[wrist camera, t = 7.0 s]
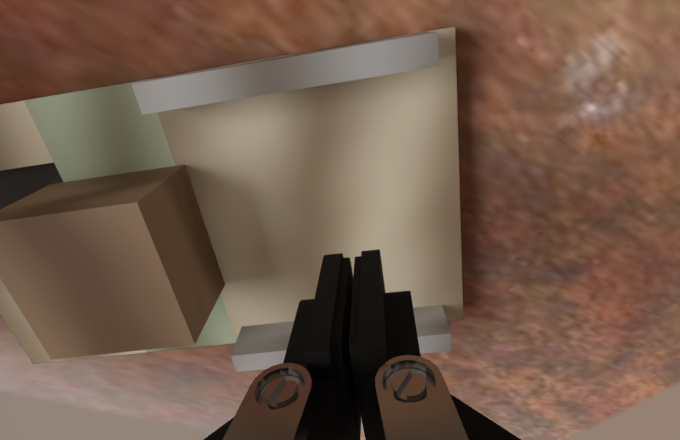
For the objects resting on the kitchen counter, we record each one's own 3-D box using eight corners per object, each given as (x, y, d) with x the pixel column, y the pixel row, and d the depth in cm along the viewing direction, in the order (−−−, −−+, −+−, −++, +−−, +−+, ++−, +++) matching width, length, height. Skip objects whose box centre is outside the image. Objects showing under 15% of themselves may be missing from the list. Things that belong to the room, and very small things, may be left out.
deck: (448, 27, 15) (470, 26, 12) (458, 306, 20) (474, 348, 17) (-99, 121, 17) (-186, 138, 14) (46, 350, 22) (3, 395, 19)
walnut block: (184, 164, 16) (136, 202, 12) (225, 284, 19) (195, 344, 15) (50, 184, 17) (-33, 225, 13) (107, 298, 19) (50, 359, 16)
